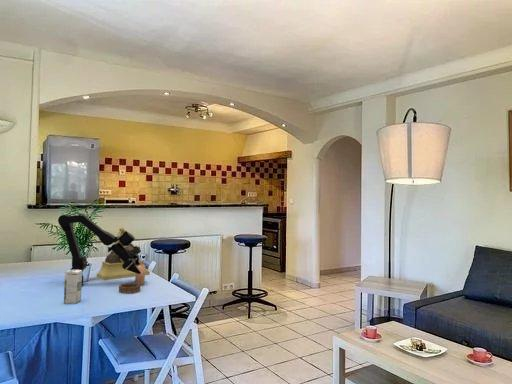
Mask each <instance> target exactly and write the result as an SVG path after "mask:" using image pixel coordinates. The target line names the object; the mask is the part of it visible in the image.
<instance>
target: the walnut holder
mask: <svg viewBox="0 0 512 384" xmlns="http://www.w3.org/2000/svg"><path fill="white" fill-rule="evenodd" d="M139 292H141V286H140V284H138V283H135V282H127V283H121V284H119V285H118V293H119V294H125V295H128V294H138V293H139Z"/></svg>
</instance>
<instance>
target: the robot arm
mask: <svg viewBox="0 0 512 384" xmlns="http://www.w3.org/2000/svg"><path fill="white" fill-rule="evenodd" d="M57 222H58V224H59V227H60V228H61V229H62V231H63V232H64V234H65V237H66V241H67V244H68V248H69V252H70V254H71V268H70V269H69V270H82V286H84V285H85V284H84V274H83V273H84V270H86V268H87V267H88V263H89V262H88V260H87V256H86V255H84V256H83V254H82V252H81V250H80V247H79V243H78V240H77V237H76V233H75V230H74V226H75V223H81V224H82V225H83V226H84V227H85V228H87V229H88V230H90V232H92V233H93V234H94V235H95V236H97V238H98V239H99V240H100V242H101V243H102V244H103V245H104V246H108V247H107V253H111V251H113V252H114V253H115V254H116V255H117V256H118V258H119V259H121V260H122V261H123V262H124V264H123V265H122V267H123V268H124V269H126V268H127V267H128V268H127V269H126V270H129V271H132V272H134V273H137V274H140V273H141V272H140V271H139V269H138V268H137V267H136V265H139V264H140V263H139V260H140V255H139V254H141V253H142V250H141V247H140V246H138V245H134V247H133V249H132V250H129V249H126V248H124V247H123V246H128V245H129V244H133V242H134V241H135V240H136V238H135V236H134V235H133V234H132V233H130V232H128V231H127V230H125V232H124V233H123V235H122V236H120V237H117V236H115V235H114V234H112V233H111V232H109V231H106V230H104V229H103V228H101V226H99V225H98V224H97V223H95V222H94V221H92V219H90V218H88V216H87V215H86V214H79V215H77V214H76V215H71V214H62V215H60V216H59V217H58V219H57ZM117 241H119V242H118V243H117V244H115V242H117ZM120 243H121V244H122V245H123V246H122V245H121V244H120ZM137 254H138V255H139V256H138V255H137ZM138 257H139V258H138ZM137 258H138V259H137Z"/></svg>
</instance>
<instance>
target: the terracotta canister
mask: <svg viewBox="0 0 512 384" xmlns="http://www.w3.org/2000/svg"><path fill="white" fill-rule="evenodd" d="M136 267H137V268H138V269H139V271H140V272H141V273H140V274H137V273H135V277H134V283H138V284H140V287H142V286H145V284H146V283H145V280H146V279H145V276H146V275H145V268H146V265H145V264H144V265H143V264H139V265H136Z"/></svg>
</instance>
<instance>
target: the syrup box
mask: <svg viewBox="0 0 512 384" xmlns="http://www.w3.org/2000/svg"><path fill="white" fill-rule="evenodd" d="M82 274H83V272H82V270H70V269H69V270H67V271H65V272H64V291H63V304H67V305H68V304H69V305H70V304H71V305H72V304H78V302H79V303H80V301H81V300H82V286H83V285H82Z"/></svg>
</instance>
